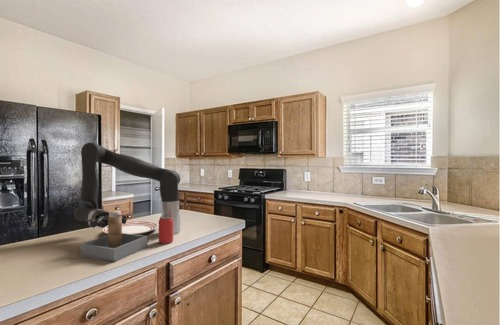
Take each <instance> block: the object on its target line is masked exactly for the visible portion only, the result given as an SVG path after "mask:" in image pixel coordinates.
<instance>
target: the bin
mask: <svg viewBox="0 0 500 325" xmlns="http://www.w3.org/2000/svg"><path fill="white" fill-rule="evenodd" d="M79 244H80V246H79V249H80V253H79V254H80V258H81V257H82V258H89V259H94V260H99V261H105V262H110V263H115V262H118V261H120V260H123V259H125V258H127V257H130V256H131V255H134V254H135V253H138V252H141V251H142V250H145V249H146V248H147V249H148V244H149V243H148V235H143V234H142V235H134V234H126V233H122V246H119V247H116V248H108V234H106V235H104V236H102V237H98V238H95V239H92V240H88V241H85V242H82V243H79Z"/></svg>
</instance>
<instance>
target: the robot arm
mask: <svg viewBox="0 0 500 325" xmlns="http://www.w3.org/2000/svg"><path fill="white" fill-rule="evenodd" d="M80 154H81V155H80V156H81V169H82V173H81V174H82V177H81V178H82V179H81V190H80V201H82V202H86V203H89V204H90V205H87V206H86V205H82V206H78V207H77V208H75V210H74V212H73V215H74V219H75V220H77V221H79V222H87V223H88V226H89V227H90V228H93V229H94V228H96V227H97V228H102V229H103V228H105V227H106V226H108V217H109V212H110V211H107V210H106V209H105V210H104V209H101V208H99V205H98V200H97V197H98V196H97V195H98V186H99V185H98V178H97V172H96V170H97V169H96V168H97V163H99V164H104V165H107V166H111V167H112V168H115V169H116V170H119V171H120V172H123V173H126V174H128V175H131V176H134V177H137V178H144V179H149V180H154V181H157V182H159V195H160V201H161V202H160V203H161V204H160V205H161V206H160V207H161V208H160V209H161V212H160V214H161V216H160V217H162V216H172V219H173V235H177V234H179V233H180V231H181V213H180V195H179V184H180V182H181V175H180V174H179V173H178V171H175V170H171V169H167V168H162V167H159V166H156V165H154V164H152V163H149V162H147V161H145V160H142V159H140V158H138V157H134V156H131V155H127V154H122V153H117V152H114V151H112V150H109V149H107V148H105V147H103V146H102V145H101V144H97V143H94V142H87V143H85V144H83V145H82V147H81V149H80ZM121 216H122V224H125V223H126V222H127V215H123V214H121Z"/></svg>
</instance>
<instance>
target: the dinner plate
mask: <svg viewBox="0 0 500 325" xmlns="http://www.w3.org/2000/svg"><path fill="white" fill-rule="evenodd" d="M157 228H159V223H158V224H157V223H156V222H154V221H147V220H131V221H129V220H128V221H127V220H126V223H125V224H122V233H126V234H134V235H142V236H143V235H145V234H147V233H150V232H152V231H154V230H156V229H157ZM101 231H102V232H103V233H104V234H106V235H108V226H106V227H105V228H102V230H101Z"/></svg>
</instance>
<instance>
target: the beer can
mask: <svg viewBox="0 0 500 325" xmlns="http://www.w3.org/2000/svg"><path fill="white" fill-rule="evenodd" d="M158 219H159V220H158V242H159V244H161V245H165V244H166V245H167V244H171V243H173V242H174V234H173V219H172V216H162V217H161V216H160V217H159V218H158Z"/></svg>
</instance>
